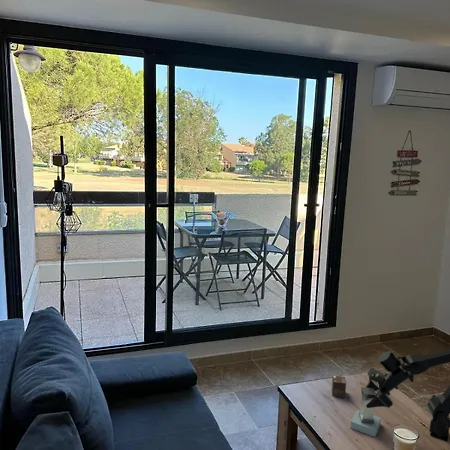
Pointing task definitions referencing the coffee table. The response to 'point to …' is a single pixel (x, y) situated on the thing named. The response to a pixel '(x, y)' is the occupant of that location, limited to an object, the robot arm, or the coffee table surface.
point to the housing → (367, 396)
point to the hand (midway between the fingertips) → (364, 400)
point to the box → (338, 386)
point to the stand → (365, 425)
